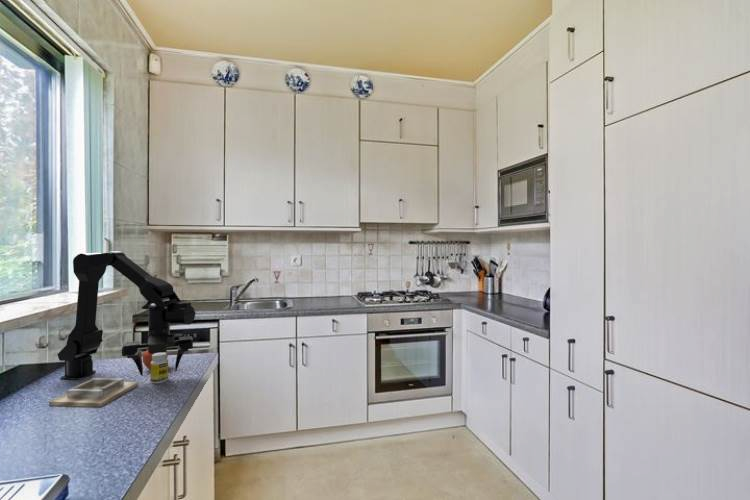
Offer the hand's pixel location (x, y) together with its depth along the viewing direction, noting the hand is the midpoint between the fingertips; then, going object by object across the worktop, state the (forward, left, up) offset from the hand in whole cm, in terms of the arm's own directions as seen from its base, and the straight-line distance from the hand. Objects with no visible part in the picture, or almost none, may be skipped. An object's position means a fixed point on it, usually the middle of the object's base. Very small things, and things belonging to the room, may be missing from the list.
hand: (159, 372), depth 111 cm
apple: (-8, +10, -3) cm, 13 cm away
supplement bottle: (0, 0, -3) cm, 3 cm away
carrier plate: (-11, -11, -3) cm, 16 cm away
